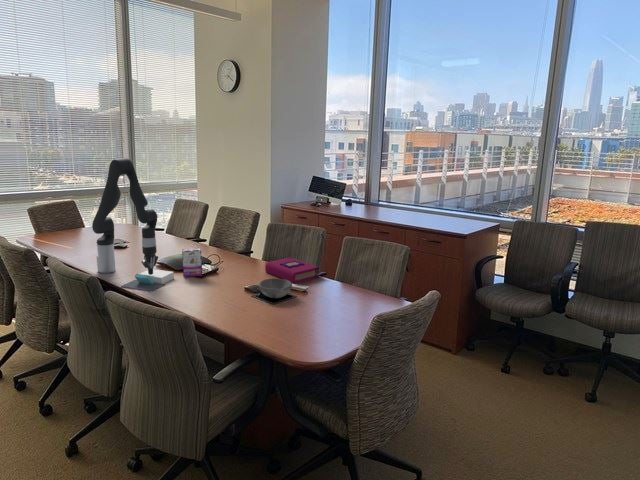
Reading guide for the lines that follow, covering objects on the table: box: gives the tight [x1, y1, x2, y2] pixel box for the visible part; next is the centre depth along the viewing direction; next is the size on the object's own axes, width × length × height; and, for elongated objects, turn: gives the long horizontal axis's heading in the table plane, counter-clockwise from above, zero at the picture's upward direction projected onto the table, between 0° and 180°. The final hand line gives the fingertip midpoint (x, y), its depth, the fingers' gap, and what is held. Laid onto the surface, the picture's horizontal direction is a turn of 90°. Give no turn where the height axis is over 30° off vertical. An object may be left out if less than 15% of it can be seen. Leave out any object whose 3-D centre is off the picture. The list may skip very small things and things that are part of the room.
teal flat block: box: [134, 273, 154, 285], centre depth 269 cm, size 9×6×2 cm
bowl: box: [258, 277, 293, 299], centre depth 258 cm, size 18×18×8 cm
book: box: [264, 257, 320, 284], centre depth 296 cm, size 21×28×8 cm
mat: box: [120, 279, 166, 292], centre depth 268 cm, size 20×12×1 cm, turn 73°
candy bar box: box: [181, 247, 203, 278], centre depth 288 cm, size 11×5×16 cm, turn 105°
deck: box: [139, 268, 175, 284], centre depth 279 cm, size 16×12×4 cm
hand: (150, 274), depth 274 cm, fingers closed
